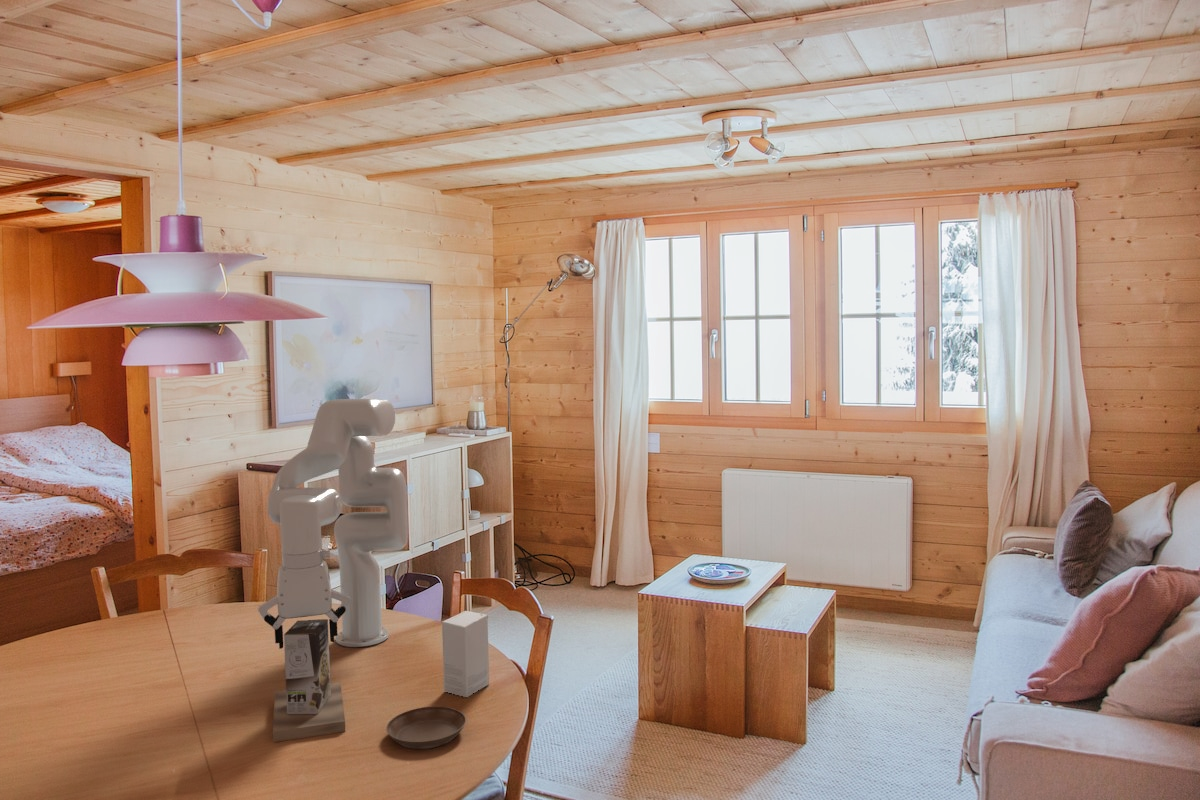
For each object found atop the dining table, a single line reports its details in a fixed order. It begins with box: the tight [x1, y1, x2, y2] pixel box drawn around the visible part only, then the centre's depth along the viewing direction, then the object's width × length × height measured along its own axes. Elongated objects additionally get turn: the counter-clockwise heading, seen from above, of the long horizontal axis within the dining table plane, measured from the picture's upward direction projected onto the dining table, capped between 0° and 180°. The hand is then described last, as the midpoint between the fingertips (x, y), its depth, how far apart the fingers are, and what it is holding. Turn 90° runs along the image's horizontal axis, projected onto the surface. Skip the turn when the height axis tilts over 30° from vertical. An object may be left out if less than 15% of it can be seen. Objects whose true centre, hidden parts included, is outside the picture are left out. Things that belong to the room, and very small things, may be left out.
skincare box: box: [441, 610, 490, 698], centre depth 192 cm, size 8×7×16 cm
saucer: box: [386, 705, 467, 750], centre depth 171 cm, size 15×15×3 cm
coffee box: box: [283, 618, 331, 714], centre depth 180 cm, size 9×6×16 cm
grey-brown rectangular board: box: [272, 682, 346, 743], centre depth 180 cm, size 20×13×2 cm, turn 18°
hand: (307, 642), depth 180 cm, fingers open, 9 cm apart
